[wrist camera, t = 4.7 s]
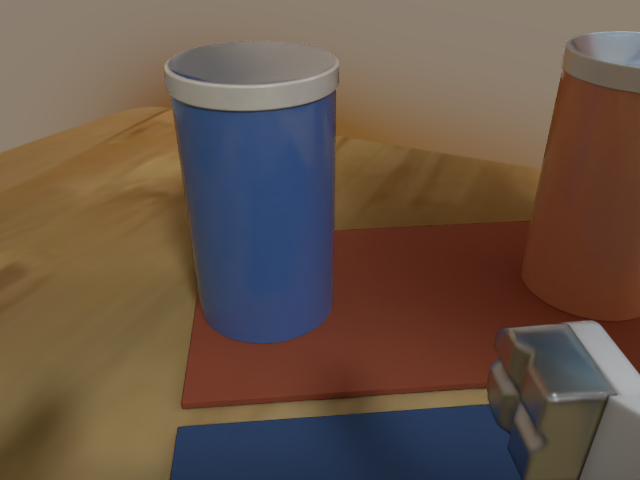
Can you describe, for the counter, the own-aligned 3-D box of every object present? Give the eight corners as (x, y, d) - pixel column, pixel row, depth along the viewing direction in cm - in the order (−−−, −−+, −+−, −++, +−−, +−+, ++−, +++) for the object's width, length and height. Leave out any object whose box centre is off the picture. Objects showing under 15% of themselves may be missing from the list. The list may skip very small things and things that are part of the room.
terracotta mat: (589, 222, 31) (591, 217, 31) (734, 370, 21) (737, 364, 21) (206, 241, 29) (206, 236, 29) (182, 409, 20) (181, 403, 20)
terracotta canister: (615, 243, 28) (680, 29, 23) (690, 319, 23) (794, 69, 18) (499, 249, 28) (539, 32, 23) (550, 328, 23) (616, 74, 18)
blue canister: (328, 258, 27) (330, 38, 22) (344, 341, 22) (350, 82, 17) (203, 265, 27) (174, 41, 22) (191, 350, 22) (150, 88, 17)
